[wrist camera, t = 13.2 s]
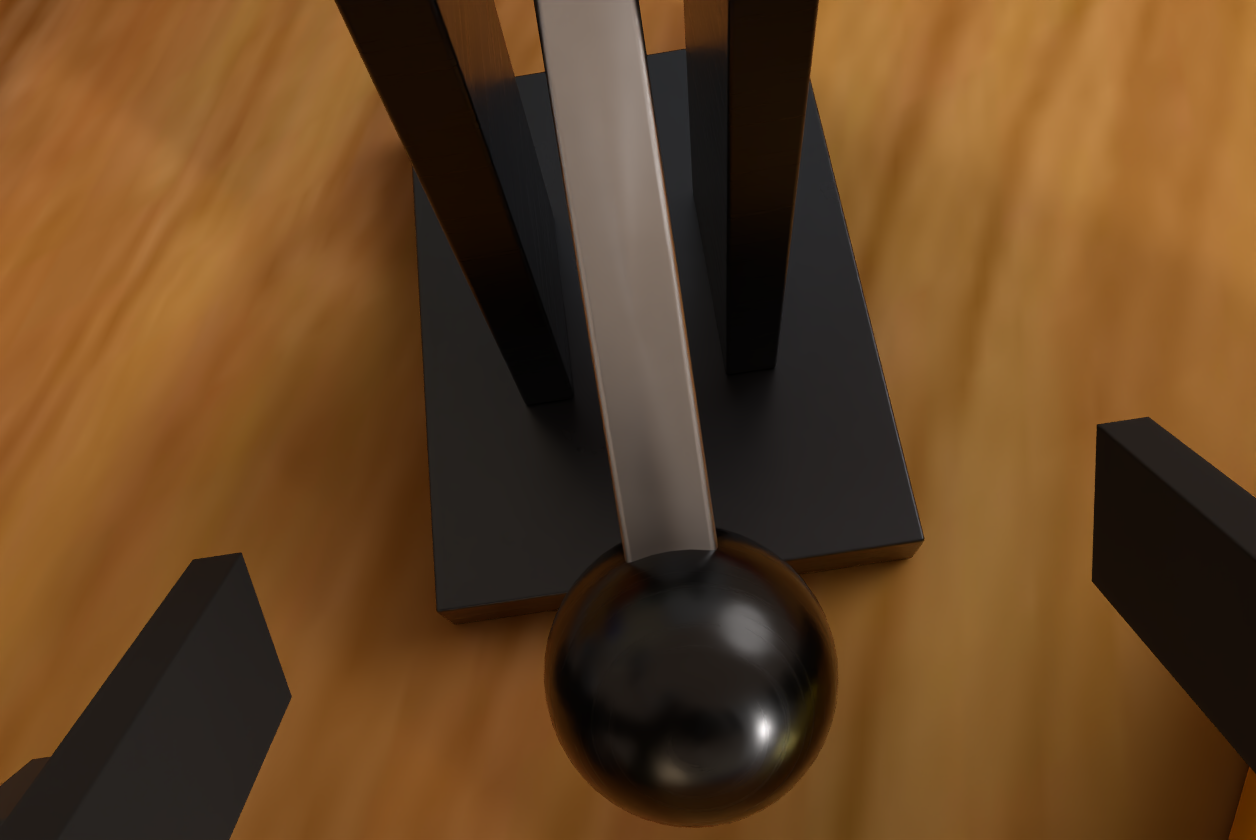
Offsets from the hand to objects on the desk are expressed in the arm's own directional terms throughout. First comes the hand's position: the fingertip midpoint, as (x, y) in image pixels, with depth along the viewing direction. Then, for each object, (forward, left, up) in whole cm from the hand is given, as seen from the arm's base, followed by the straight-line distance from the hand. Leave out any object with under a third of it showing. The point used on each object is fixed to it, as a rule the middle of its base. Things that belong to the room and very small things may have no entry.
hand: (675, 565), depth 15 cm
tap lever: (-3, +1, +4) cm, 5 cm away
